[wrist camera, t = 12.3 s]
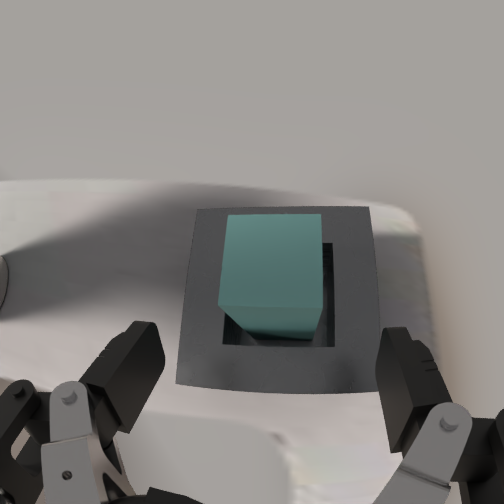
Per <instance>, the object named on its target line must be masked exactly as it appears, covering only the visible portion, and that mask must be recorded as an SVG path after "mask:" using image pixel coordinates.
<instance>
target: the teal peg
mask: <svg viewBox="0 0 504 504" xmlns="http://www.w3.org/2000/svg"><path fill="white" fill-rule="evenodd" d="M218 306H219V307H220V308H221V309H222V310H223V311H224V312H226V313H227V314H228V315H229V316H230V317H231V318H232V319H233V320H234V321H235V322H236V323H237V324H238V325H239V326H240V327H241V328H243V329H244V330H245V331H246V332H247V333H248V334H249V335H250V336H251V337H252V338H253V339H255V340H281V341H312V340H313V337H314V334H315V331H316V328H317V325H318V322H319V318H320V315H321V312H322V309H323V260H322V226H321V214H256V215H228V220H227V228H226V236H225V245H224V253H223V262H222V271H221V280H220V289H219V299H218Z"/></svg>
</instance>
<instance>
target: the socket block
mask: <svg viewBox="0 0 504 504" xmlns="http://www.w3.org/2000/svg"><path fill="white" fill-rule="evenodd" d="M256 214H321V226H322V260H323V309H322V312H321V315H320V318H319V322H318V325H317V328H316V331H315V334H314V337H313V340H312V341H281V340H255V339H253V338H252V337H251V336H250V335H249V334H248V333H247V332H246V331H245V330H244V329H243V328H241V327H240V326H239V325H238V324H237V323H236V322H235V321H234V320H233V319H232V318H231V317H230V316H229V315H228V314H227V313H226V312H224V311H223V310H222V309H221V308H220V307H219V306H218V299H219V289H220V280H221V271H222V262H223V253H224V245H225V236H226V228H227V220H228V215H256ZM379 346H380V320H379V299H378V284H377V272H376V261H375V251H374V242H373V233H372V225H371V218H370V211H369V207H360V206H301V207H250V208H221V209H198V211H197V217H196V223H195V229H194V235H193V241H192V248H191V255H190V261H189V268H188V275H187V283H186V290H185V298H184V306H183V314H182V323H181V332H180V341H179V351H178V361H177V372H176V384H180V385H187V386H194V387H203V388H211V389H221V390H232V391H244V392H260V393H283V394H341V393H363V392H378V386H377V382H376V377H375V365H376V359H377V355H378V351H379Z"/></svg>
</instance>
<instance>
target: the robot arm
mask: <svg viewBox="0 0 504 504" xmlns="http://www.w3.org/2000/svg"><path fill="white" fill-rule="evenodd" d="M7 281H8V269H7V264H6V261H5V260H4V258H3V257H1V256H0V307H1V305H2V302H3V300H4V296H5V293H6V288H7ZM164 366H165V354H164V350H163V347H162V343H161V340H160V336H159V332H158V329H157V326H156V324H155V323H153V322H144V321H134V322H133V323H132V324H131V325H130V326H129V328H128V329H127V330H126V331H125V332H122V333H121V334H119V335H118V336H116V337H115V338H113V339H112V340H111V341H110V342H109V343H108V345H107V346H106V347H105V350H103V351H102V352H101V353H100V354H99V357H97V358H96V359H95V361H94V362H93V363H92V364H91V366H90V367H89V368H88V369H87V371H86V372H85V373H84V374H83V376H82V377H81V378H80V380H79V381H78V382H77V381H69V382H65V383H62V384H60V385H59V386H57V387H56V388H55V389H54V390H53V392H37V390H36V389H35V387H34V386H33V384H32V383H31V382H30V381H28V380H18V381H15V382H13V383H12V384H11V385H9V386H8V387H7V389H6V390H5V391H4V392H3V393H2V395H1V396H0V504H35V503H36V501H37V499H38V497H39V495H40V493H41V491H42V489H43V487H44V493H45V501H46V504H203V503H200V502H198V501H196V500H193V499H191V498H189V497H187V496H184V495H180V494H175V493H171V492H167V491H163V490H159V489H155V488H152V487H149V490H148V492H147V495H136V493H135V492H134V490H133V488H132V486H131V485H130V483H129V481H128V478H127V475H126V472H125V469H124V465H123V462H122V459H121V455H120V452H119V448H118V444H117V441H116V438H115V437H114V435H115V434H116V432H117V430H118V431H121V432H124V433H128V434H129V433H130V431H131V429H132V428H133V426H134V424H135V422H136V420H137V418H138V416H139V414H140V412H141V411H142V409H143V407H144V405H145V403H146V401H147V399H148V398H149V396H150V394H151V392H152V390H153V388H154V386H155V385H156V383H157V381H158V379H159V377H160V375H161V374H162V372H163V370H164ZM375 377H376V382H377V386H378V391H379V395H380V400H381V405H382V409H383V414H384V419H385V424H386V429H387V435H388V440H389V446H390V452H391V453H397V452H402V456H403V460H402V462H401V464H400V465H399V467H398V468H397V470H396V471H395V473H394V474H393V476H392V477H391V479H390V480H389V482H388V483H387V485H386V486H385V487H384V489H383V490H382V492H381V493H380V494H379V496H378V497H377V498H376V500H375V501H374V502H373V504H444V503H445V501H446V499H447V497H448V495H449V492H450V489H451V486H449V482H450V481H451V482H458V483H459V488H460V494H461V500H462V504H504V409H502V410H501V411H500V412H499V414H498V415H497V417H496V418H495V419H488V418H473V417H471V415H470V414H469V412H468V411H467V410H466V409H465V408H464V407H463V406H461V405H459V404H455V403H453V402H452V399H451V397H450V395H449V393H448V390H447V388H446V385H445V383H444V381H443V378H442V376H441V374H440V372H439V371H438V367H437V365H436V363H435V362H434V359H433V357H432V354H431V352H430V350H429V349H428V348H427V347H426V346H425V345H424V344H423V343H422V342H421V341H419V340H415V341H412V339H411V337H410V335H409V332H408V330H407V328H406V327H392V328H384V329H383V332H382V336H381V341H380V346H379V351H378V355H377V359H376V365H375ZM23 428H25V430H26V431H27V432H28V433H29V435H30V437H29V439H28V441H27V442H26V444H25V445H24V447H23V448H22V450H21V451H20V453H19V455H18V456H17V458H16V460H15V459H14V458H13V457H12V455H11V446H12V444H13V443H14V441H15V440H16V438H17V437H18V435H19V434H20V432H21V431H22V429H23Z"/></svg>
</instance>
